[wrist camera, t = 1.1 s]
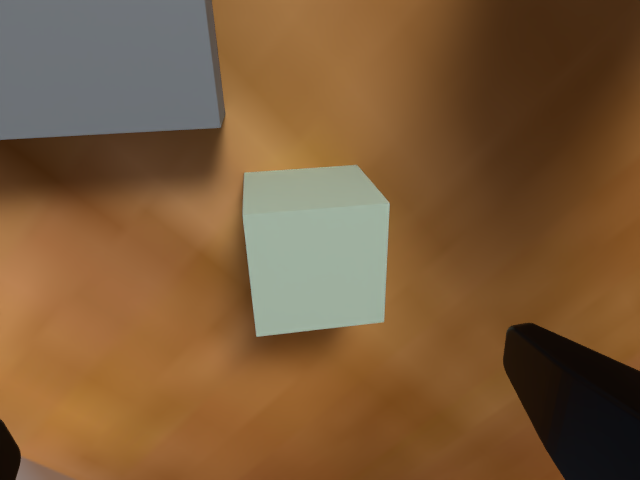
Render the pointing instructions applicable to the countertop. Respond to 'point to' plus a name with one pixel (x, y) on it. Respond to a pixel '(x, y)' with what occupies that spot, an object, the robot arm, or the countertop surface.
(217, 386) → the countertop surface
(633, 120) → the countertop surface
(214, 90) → the base
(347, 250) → the green cube
